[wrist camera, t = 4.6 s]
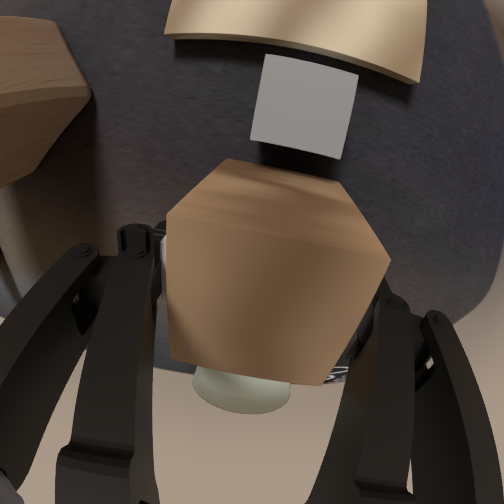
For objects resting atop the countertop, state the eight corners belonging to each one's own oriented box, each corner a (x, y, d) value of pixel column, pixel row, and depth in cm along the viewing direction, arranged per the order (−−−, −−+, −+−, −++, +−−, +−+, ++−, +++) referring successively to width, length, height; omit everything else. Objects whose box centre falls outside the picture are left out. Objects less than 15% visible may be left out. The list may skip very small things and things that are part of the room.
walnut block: (214, 256, 17) (170, 358, 10) (226, 158, 14) (166, 214, 7) (310, 275, 17) (320, 386, 10) (339, 181, 14) (390, 259, 7)
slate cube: (258, 133, 14) (249, 139, 11) (270, 68, 12) (265, 53, 9) (327, 148, 14) (340, 159, 11) (340, 84, 12) (358, 75, 9)
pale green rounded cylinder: (213, 335, 23) (192, 402, 17) (219, 280, 20) (192, 353, 14) (281, 348, 22) (276, 419, 16) (300, 296, 20) (302, 375, 13)
